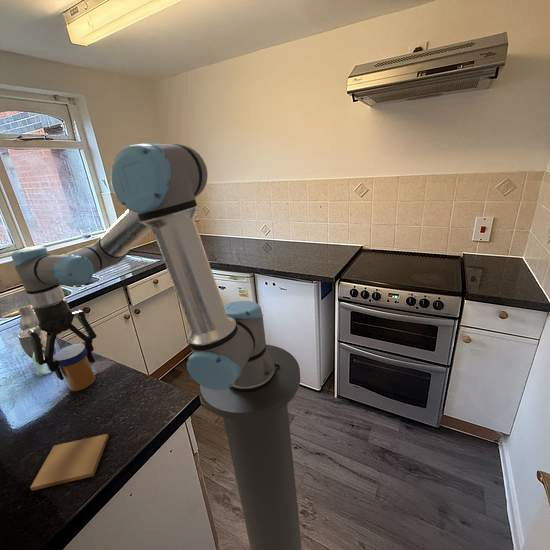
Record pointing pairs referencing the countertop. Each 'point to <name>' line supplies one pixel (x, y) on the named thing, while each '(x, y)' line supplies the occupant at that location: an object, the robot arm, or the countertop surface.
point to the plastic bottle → (29, 319)
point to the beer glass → (28, 349)
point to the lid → (70, 354)
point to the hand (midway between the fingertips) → (76, 369)
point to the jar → (78, 374)
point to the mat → (71, 462)
